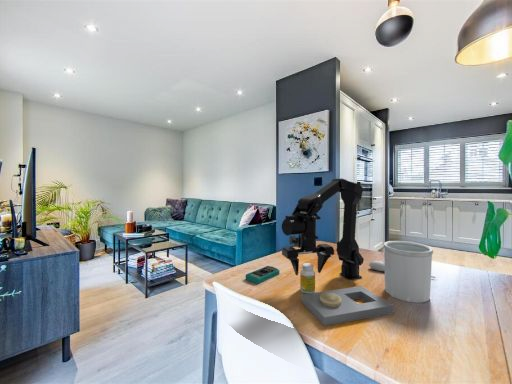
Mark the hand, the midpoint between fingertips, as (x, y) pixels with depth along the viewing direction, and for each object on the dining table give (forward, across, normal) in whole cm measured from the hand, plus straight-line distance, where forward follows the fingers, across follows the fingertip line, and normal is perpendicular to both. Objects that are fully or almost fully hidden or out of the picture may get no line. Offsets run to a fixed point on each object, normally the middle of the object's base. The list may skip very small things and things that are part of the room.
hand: (307, 273), depth 89 cm
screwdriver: (+7, -47, -3) cm, 48 cm away
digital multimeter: (+7, +12, -17) cm, 22 cm away
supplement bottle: (+6, 0, 0) cm, 7 cm away
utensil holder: (+7, -33, +12) cm, 36 cm away
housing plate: (+6, -6, +14) cm, 16 cm away
